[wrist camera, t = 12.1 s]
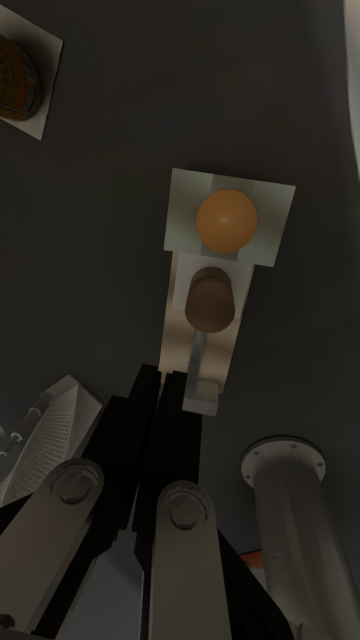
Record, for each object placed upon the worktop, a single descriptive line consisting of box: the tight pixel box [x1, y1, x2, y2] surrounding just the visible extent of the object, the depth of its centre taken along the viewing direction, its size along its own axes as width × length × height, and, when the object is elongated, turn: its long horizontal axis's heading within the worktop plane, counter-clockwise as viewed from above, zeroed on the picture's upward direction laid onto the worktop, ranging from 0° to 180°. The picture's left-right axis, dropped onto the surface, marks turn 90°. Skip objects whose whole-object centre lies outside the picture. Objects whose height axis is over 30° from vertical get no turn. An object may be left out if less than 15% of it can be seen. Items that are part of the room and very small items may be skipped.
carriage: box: [172, 252, 253, 333], centre depth 28 cm, size 6×7×10 cm
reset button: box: [196, 189, 257, 253], centre depth 23 cm, size 4×4×3 cm
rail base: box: [159, 168, 296, 416], centre depth 31 cm, size 26×9×10 cm, turn 172°
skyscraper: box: [0, 373, 103, 508], centre depth 32 cm, size 8×8×28 cm
